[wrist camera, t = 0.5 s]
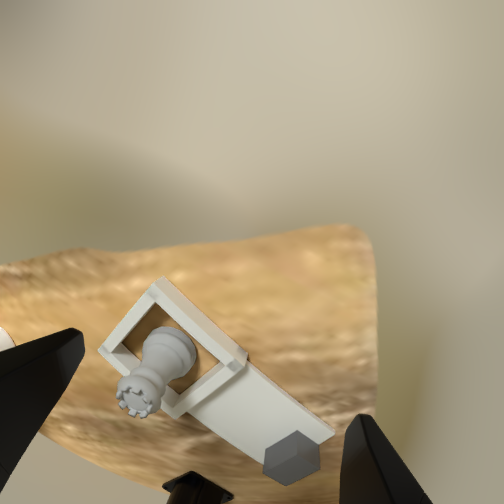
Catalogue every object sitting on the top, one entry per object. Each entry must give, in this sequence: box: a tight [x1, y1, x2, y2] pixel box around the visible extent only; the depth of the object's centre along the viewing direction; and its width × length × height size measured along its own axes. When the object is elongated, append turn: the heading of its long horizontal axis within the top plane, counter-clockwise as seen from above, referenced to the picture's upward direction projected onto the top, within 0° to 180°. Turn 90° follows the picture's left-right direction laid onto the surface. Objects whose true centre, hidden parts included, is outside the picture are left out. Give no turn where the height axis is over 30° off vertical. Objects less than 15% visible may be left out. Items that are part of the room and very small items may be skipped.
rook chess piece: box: [116, 327, 196, 419], centre depth 21 cm, size 4×4×8 cm
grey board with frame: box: [97, 275, 335, 486], centre depth 23 cm, size 9×20×4 cm, turn 46°
